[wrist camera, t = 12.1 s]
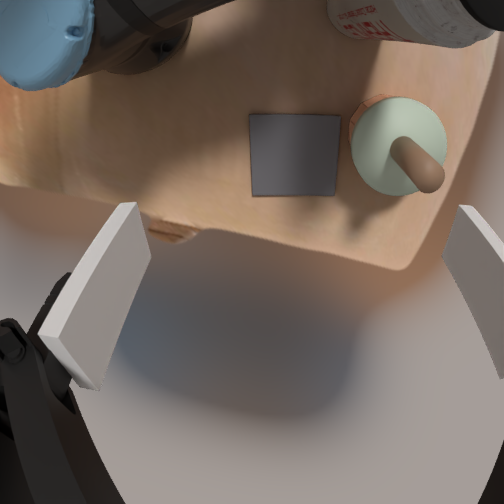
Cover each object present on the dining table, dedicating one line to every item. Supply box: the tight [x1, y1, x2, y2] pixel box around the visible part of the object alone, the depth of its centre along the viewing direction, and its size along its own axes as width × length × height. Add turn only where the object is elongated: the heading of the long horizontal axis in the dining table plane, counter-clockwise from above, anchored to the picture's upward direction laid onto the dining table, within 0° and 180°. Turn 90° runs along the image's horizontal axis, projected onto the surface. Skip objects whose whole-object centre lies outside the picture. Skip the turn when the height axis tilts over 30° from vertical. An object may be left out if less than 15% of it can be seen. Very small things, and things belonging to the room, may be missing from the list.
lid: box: [351, 96, 447, 196], centre depth 32 cm, size 13×13×10 cm
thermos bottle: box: [327, 0, 504, 48], centre depth 18 cm, size 8×8×28 cm
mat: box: [249, 114, 341, 196], centre depth 42 cm, size 12×12×1 cm
